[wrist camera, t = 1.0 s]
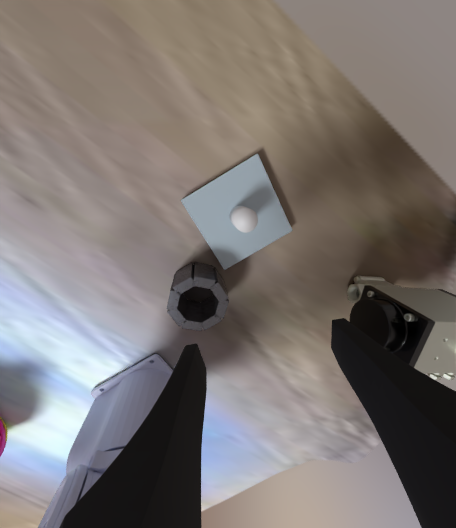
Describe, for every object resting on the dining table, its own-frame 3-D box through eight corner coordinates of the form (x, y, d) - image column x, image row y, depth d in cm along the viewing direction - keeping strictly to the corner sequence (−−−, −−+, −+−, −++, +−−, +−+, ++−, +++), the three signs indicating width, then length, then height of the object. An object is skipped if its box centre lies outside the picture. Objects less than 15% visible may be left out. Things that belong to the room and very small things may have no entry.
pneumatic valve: (324, 267, 25) (427, 331, 14) (410, 273, 27) (562, 333, 16) (313, 309, 27) (396, 396, 16) (395, 312, 29) (521, 391, 18)
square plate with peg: (223, 266, 23) (228, 281, 20) (181, 199, 21) (177, 202, 17) (288, 228, 23) (306, 236, 19) (254, 154, 20) (267, 147, 17)
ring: (190, 316, 25) (189, 339, 21) (162, 279, 23) (155, 297, 19) (231, 292, 25) (237, 311, 21) (206, 253, 23) (208, 266, 19)
